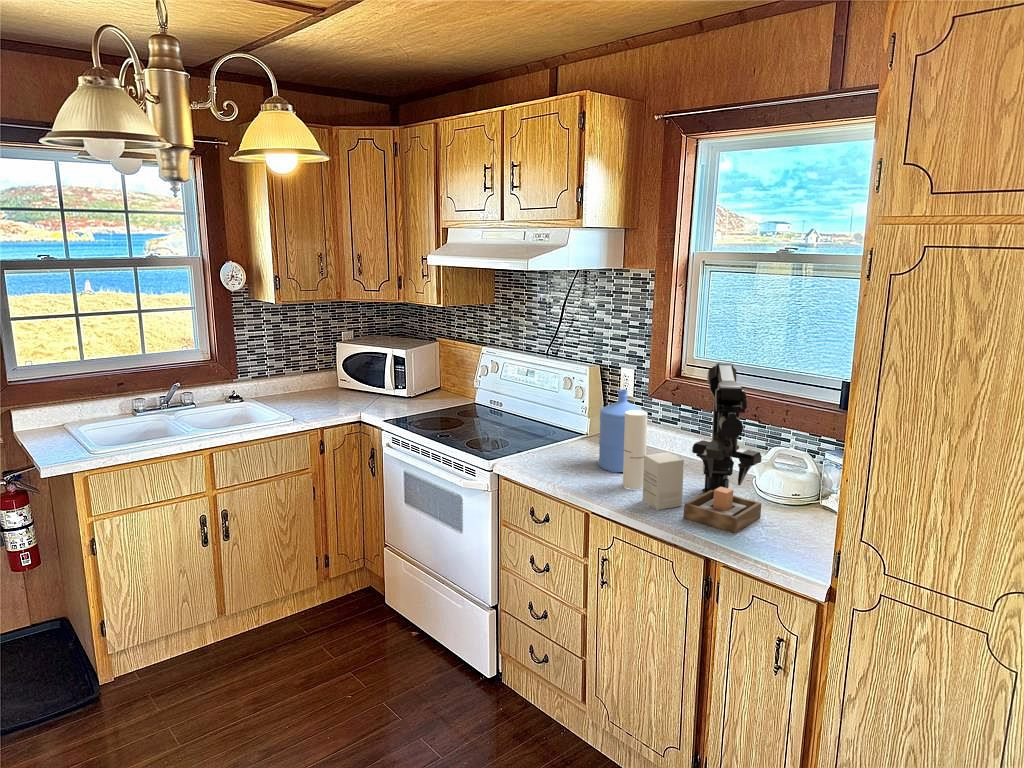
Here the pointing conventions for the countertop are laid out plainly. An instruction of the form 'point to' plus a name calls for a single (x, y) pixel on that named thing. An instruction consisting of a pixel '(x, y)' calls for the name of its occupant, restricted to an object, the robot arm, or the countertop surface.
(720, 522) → the tray
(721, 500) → the block
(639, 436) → the cylindrical container
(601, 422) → the water jug
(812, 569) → the countertop surface
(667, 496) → the supplement box
